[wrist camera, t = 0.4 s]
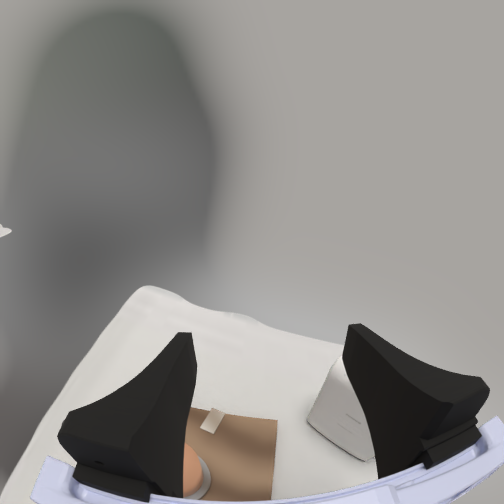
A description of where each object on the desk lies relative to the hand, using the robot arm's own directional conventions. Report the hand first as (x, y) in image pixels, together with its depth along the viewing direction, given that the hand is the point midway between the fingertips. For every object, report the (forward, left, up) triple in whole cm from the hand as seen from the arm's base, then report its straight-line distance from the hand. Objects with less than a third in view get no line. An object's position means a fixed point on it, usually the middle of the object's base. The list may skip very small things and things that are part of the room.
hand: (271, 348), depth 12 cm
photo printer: (+5, -11, -20) cm, 24 cm away
